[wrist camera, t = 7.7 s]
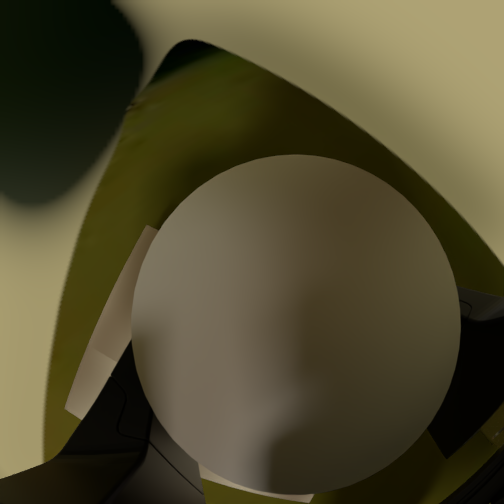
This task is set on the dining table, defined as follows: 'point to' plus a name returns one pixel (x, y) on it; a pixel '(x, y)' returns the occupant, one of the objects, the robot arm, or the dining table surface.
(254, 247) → the bobbin
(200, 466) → the notched board
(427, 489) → the dining table surface
